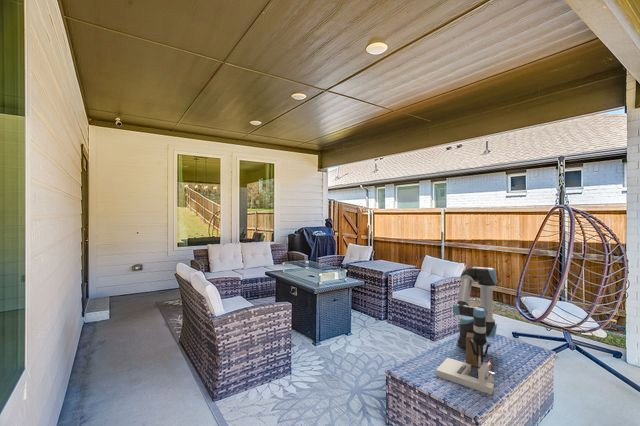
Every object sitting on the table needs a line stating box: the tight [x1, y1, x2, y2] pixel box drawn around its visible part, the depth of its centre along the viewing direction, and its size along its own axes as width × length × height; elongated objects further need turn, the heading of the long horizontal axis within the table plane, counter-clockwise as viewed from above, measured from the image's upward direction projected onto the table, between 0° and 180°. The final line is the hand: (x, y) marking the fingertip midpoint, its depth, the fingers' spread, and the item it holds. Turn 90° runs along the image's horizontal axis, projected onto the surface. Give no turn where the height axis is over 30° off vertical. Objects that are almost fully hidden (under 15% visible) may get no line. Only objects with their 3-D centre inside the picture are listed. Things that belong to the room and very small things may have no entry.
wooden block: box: [465, 332, 483, 368], centre depth 221 cm, size 10×10×20 cm
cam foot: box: [477, 359, 495, 384], centre depth 201 cm, size 18×10×9 cm, turn 139°
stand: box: [435, 357, 495, 396], centre depth 203 cm, size 22×33×12 cm, turn 49°
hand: (479, 366), depth 208 cm, fingers closed
